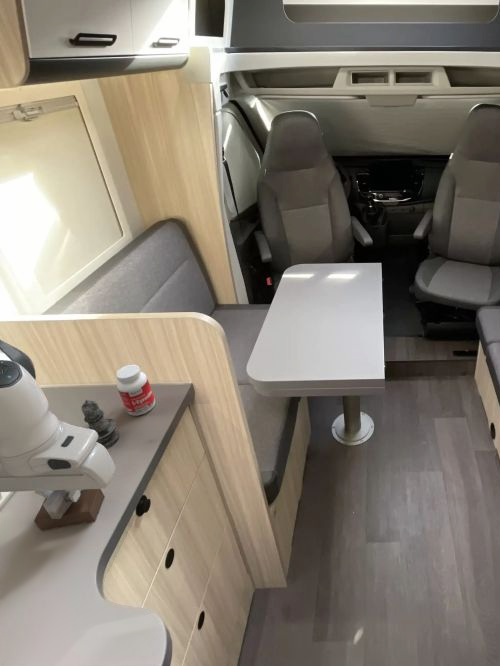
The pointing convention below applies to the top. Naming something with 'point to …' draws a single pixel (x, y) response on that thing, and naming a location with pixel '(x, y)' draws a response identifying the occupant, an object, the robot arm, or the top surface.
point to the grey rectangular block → (57, 504)
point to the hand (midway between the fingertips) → (65, 498)
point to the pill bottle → (135, 390)
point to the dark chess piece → (100, 424)
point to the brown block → (73, 511)
